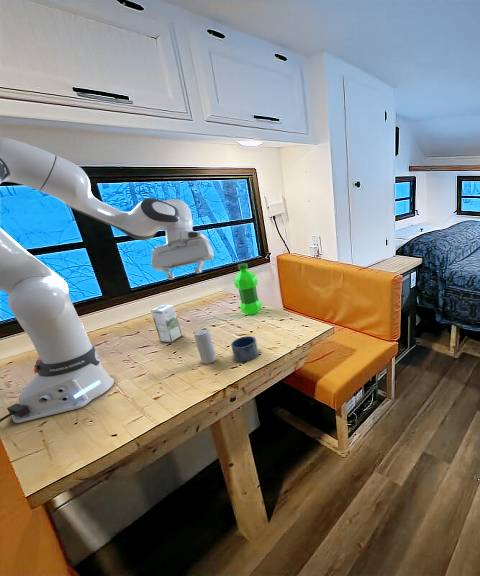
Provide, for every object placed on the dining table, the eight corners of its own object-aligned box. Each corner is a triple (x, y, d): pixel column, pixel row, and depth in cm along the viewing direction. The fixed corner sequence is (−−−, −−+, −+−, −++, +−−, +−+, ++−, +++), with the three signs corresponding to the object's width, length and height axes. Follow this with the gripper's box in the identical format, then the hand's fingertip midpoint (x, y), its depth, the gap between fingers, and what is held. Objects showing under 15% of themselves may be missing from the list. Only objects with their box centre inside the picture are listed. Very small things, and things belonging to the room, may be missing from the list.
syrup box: (171, 334, 132) (162, 304, 127) (183, 335, 131) (173, 305, 126) (160, 341, 127) (149, 309, 122) (171, 342, 126) (161, 310, 121)
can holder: (236, 364, 109) (233, 350, 107) (232, 354, 116) (229, 340, 114) (260, 357, 114) (258, 343, 112) (255, 347, 120) (252, 334, 118)
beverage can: (210, 365, 110) (202, 336, 106) (198, 363, 111) (190, 335, 106) (219, 357, 114) (212, 329, 110) (208, 356, 115) (200, 328, 111)
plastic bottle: (266, 308, 156) (258, 261, 147) (255, 317, 146) (245, 267, 137) (249, 307, 157) (239, 261, 149) (236, 316, 148) (225, 267, 139)
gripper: (145, 244, 108) (147, 280, 104) (204, 231, 110) (209, 266, 106) (157, 251, 114) (160, 285, 110) (213, 238, 116) (217, 271, 113)
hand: (184, 275), depth 108 cm, fingers open, 8 cm apart
